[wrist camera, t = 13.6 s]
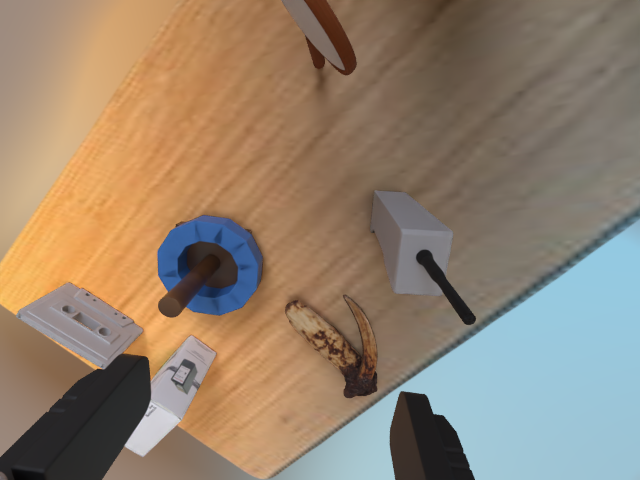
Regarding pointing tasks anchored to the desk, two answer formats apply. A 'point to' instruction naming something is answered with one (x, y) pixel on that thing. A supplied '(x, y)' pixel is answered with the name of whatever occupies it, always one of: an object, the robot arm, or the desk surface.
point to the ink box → (172, 393)
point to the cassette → (78, 304)
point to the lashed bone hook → (340, 346)
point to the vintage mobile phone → (415, 248)
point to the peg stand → (200, 275)
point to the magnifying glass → (323, 34)
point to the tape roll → (226, 236)
